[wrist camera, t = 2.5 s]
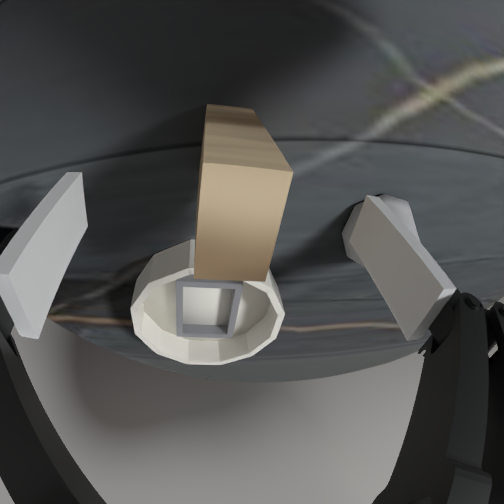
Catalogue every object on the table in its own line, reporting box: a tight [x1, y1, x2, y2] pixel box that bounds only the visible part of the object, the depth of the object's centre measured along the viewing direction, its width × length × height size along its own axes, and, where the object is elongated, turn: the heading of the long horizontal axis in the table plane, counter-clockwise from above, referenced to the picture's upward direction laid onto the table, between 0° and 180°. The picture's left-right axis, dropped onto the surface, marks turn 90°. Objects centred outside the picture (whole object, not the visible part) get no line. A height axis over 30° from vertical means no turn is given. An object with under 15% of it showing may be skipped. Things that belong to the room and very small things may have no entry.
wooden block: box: [194, 104, 293, 282], centre depth 15 cm, size 5×3×11 cm, turn 170°
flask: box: [342, 194, 420, 268], centre depth 22 cm, size 7×7×10 cm
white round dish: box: [130, 239, 285, 365], centre depth 27 cm, size 13×13×4 cm
